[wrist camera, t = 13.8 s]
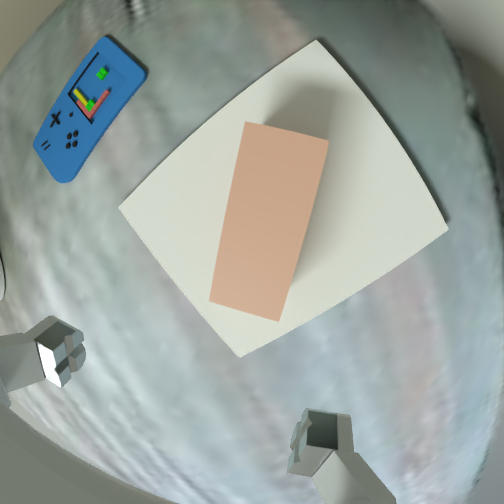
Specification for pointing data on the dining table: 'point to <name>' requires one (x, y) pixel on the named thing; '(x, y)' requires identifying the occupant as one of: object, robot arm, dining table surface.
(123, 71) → the handheld gaming device
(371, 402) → the dining table surface
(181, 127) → the dining table surface
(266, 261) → the terracotta block
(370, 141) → the white mat
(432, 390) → the dining table surface
